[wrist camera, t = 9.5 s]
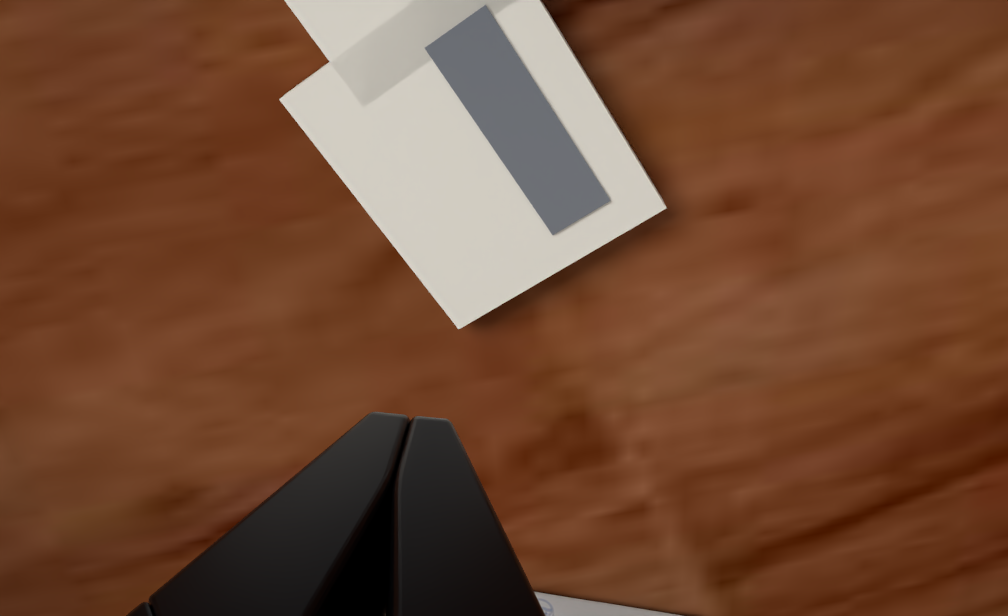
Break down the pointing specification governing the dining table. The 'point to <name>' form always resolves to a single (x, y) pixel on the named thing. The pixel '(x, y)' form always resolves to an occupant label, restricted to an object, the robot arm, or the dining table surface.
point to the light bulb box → (588, 607)
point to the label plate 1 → (363, 9)
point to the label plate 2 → (483, 157)
